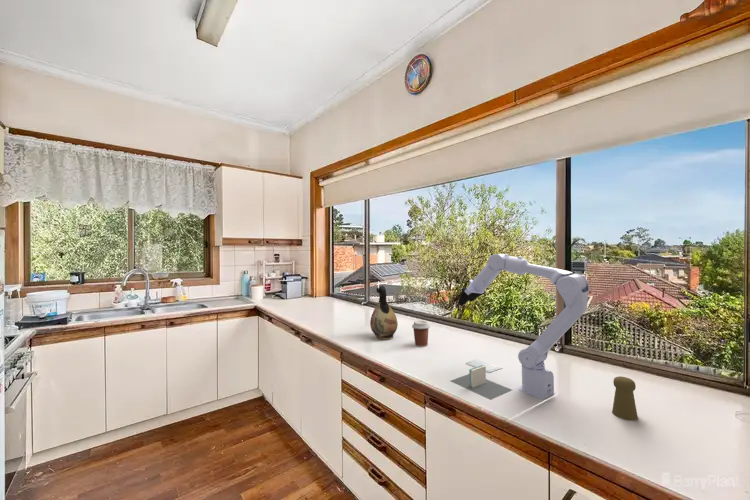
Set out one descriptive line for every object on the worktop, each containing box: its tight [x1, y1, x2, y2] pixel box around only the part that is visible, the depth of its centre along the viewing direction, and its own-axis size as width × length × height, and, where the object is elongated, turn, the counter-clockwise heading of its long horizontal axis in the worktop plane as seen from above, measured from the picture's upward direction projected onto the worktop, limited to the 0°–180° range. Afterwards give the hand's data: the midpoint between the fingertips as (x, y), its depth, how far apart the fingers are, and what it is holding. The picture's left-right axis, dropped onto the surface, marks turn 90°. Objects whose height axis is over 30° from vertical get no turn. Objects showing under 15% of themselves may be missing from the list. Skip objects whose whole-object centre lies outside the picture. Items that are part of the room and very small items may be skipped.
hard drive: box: [465, 358, 503, 374], centre depth 133 cm, size 2×8×12 cm
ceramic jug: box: [369, 285, 398, 341], centre depth 178 cm, size 17×15×30 cm
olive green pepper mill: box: [611, 376, 639, 422], centre depth 94 cm, size 6×6×11 cm
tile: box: [468, 365, 487, 387], centre depth 116 cm, size 2×7×6 cm, turn 123°
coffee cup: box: [411, 320, 431, 348], centre depth 164 cm, size 9×9×12 cm
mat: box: [450, 373, 513, 401], centre depth 115 cm, size 18×12×1 cm, turn 33°
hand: (464, 302), depth 130 cm, fingers open, 7 cm apart
